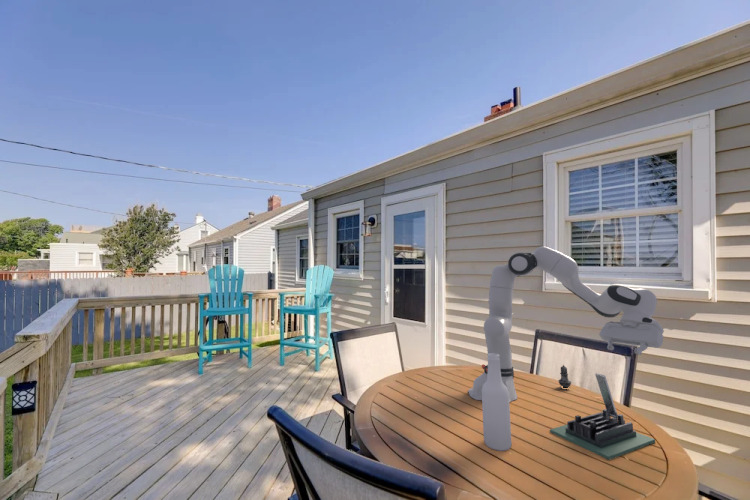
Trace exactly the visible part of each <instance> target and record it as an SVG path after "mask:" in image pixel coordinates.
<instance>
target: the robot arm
mask: <svg viewBox="0 0 750 500" xmlns="http://www.w3.org/2000/svg"><path fill="white" fill-rule="evenodd" d="M535 269H536V270H537V269H538V270H542V271H544V272H545V273H547V274H549V275H550V276H552V277H554V278H555V279H557V280H558V281H559V282H560V283H561V284H562V285H563V286H564V287H565V289H567V290H568V291H570V293H573V295H575V296H576V297H577V298H579V299H581V300H582V301H584V302H585V303H586V304H588V305H589V306H590V307H591V308H592V309H593V310H594V311H595V312H596V313H598V315H600V316H602V317H604V318H614V317H617V316H618V315H620V313H621V312H623V314H622V316H621V318H620V320H619V321H609V322H606V323H605V324H604V326H603V327H602V329H601V330H600V331H599V334H598V335H599V337H600V338H601V340H603V341H604V342H607V346H606V349H607V350H609V351H614V349H615V346H614V345H613V344H614V343H617V344H625V345H626V344H627V345H633V346H638V347H635V348H634V350H633V353H634V354H635V355H640V356H641V355H642V353H643V352H644V351H645V350H647V349H648V347H649V348H656V349H659V348H660V347H661V346H662V345H663V342H664V335H663V334H664V332H665V331H664V330H665V329H663V327H662V326H661V324H660V323H659V322H658V321H657V319H654V318H652V317H653V316H654V313H655V311H656V308H657V305H658V304H657V303H658V299H657V296H656V294H655V293H654V292H652V291H651V290H649V289H646V288H632V287H628V286H626V285H624V284H620V283H613V284H610V285H609V286H608V287H606V288H605V290H604V291H603V292H602V293H598V292H596V291H595V290H593V289H591V288H590V287H589V286H587V285H586V284H585V283H583V282H582V281H581V279H580V277H579V267H578V263H577V262H576V261H575V260H574V259H573V258H571V257H570V256H568V255H566V254H564V253H563V252H561V251H558V250H556V249H553V248H550V247H547V246H545V245H542V246H539V247H537V248H535V249H534V250H533V252H532V253H531V252H516V253H514V254H512V255H511V256H510V257H509V259H508V261H507V264H503V265H502V264H499V265H496V266H495V267H494V268H493V270H492V273H491V277H490V282H489V291H488V292H489V293H488V311H489V313H488V317H487V318H486V319H485V321H484V324H483V332H484V337H485V343H486V344H485V345H486V349H487V350H486V351H487V354H489V353H495V354H498V355H499V358H500V360H499V363H500V370H501V378H502V382H503V383H504V385H505V386H506V387H507V389H508V392H509V404H510V403H511V402H512V401H515V400H517V399H518V395H517V391H516V388H515V387H516V386H515V381H514V379H515V378H514V377H515V372H514V371H515V370H514V367H513V359H512V358H513V357H512V348H511V344H510V343H511V342H510V332H511V330H512V328H513V327H512V326H513V325H512V324H513V298H514V297H513V296H514V284H515V279H516V278H518V277H524V276H525V277H526V276H528V275H530V274H531V273H532V272H533V271H534V270H535ZM481 368H482V369H483V370H484V371H483V373H481V374H480V375H479V376H477V377H476V378H474V380H473V385H472V388H471V387H470V388H469V389H468V392H469V393H468V395H469V397H471V398H472V399H473V400H476V401H482V387H483V385H484V383H485V382H486V381H487V374H488V364H486V365H485V364H481Z"/></svg>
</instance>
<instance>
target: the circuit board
mask: <svg viewBox="0 0 750 500" xmlns="http://www.w3.org/2000/svg"><path fill="white" fill-rule="evenodd" d="M567 427H568V426H567V424H564V425H560V426H558V427H554V428H550V429H549V433H551V434H553V435H555V436H557V437H559V438H562V439H564V440H566V441H568V442H570V443H572V444H574V445H576V446H579V447H580V448H582V449H585V450H587V451H589V452H591V453H593V454H595V455H597V456H600V457H601V458H604V459H606V460H609V461H611V460H613V459H615V457H616V458H619V457H621V456H624V455H626V454H628V453H629V454H630V453H631V452H633V451H636V449H637V450H638V449H641V448H643V447H647V446H650V445H652V444H655V443H656V439H655V438H652V437H649V436H647V435H645V434H642V433H639V432H637V431H636V436H635V437H632V438H629V439H626V440H623V441H621V442H618V443H615V444H612V445H609V446H606V447H604V448H599V447H597V446H595V445H593V444H590V443H588V442H586V441H584V440H581V439H579V438H577V437H575V436H572V435H570V434H568V433H566V429H565V428H567ZM649 444H650V445H649ZM646 445H647V446H646ZM623 454H624V455H623ZM618 456H619V457H618ZM610 459H611V460H610Z"/></svg>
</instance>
